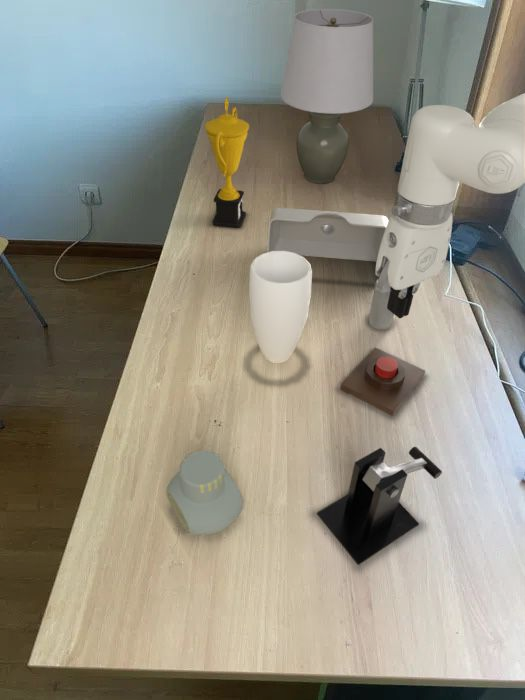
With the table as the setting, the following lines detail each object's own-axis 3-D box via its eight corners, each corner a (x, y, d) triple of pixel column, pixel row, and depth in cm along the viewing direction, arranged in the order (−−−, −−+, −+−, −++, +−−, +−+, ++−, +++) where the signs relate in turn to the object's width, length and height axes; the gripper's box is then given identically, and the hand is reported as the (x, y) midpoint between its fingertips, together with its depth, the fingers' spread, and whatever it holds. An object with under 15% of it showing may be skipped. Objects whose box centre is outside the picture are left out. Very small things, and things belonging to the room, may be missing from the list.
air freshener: (250, 524, 78) (250, 482, 72) (198, 554, 75) (193, 513, 68) (212, 469, 85) (209, 426, 78) (162, 494, 82) (155, 452, 75)
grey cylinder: (386, 335, 109) (395, 292, 102) (364, 327, 111) (372, 284, 104) (394, 322, 112) (403, 279, 105) (372, 315, 114) (381, 272, 107)
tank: (378, 249, 132) (387, 200, 124) (381, 289, 120) (391, 238, 112) (273, 241, 134) (274, 192, 126) (265, 279, 122) (266, 228, 114)
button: (381, 361, 98) (382, 353, 97) (399, 370, 97) (401, 362, 96) (371, 372, 96) (372, 365, 95) (390, 381, 95) (391, 374, 93)
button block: (373, 356, 105) (376, 339, 102) (422, 379, 100) (427, 363, 98) (339, 392, 98) (342, 376, 95) (391, 420, 93) (396, 403, 90)
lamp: (264, 186, 155) (267, 22, 128) (294, 154, 172) (302, 3, 145) (348, 203, 149) (369, 34, 122) (370, 168, 165) (394, 12, 138)
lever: (411, 455, 80) (419, 442, 79) (437, 480, 77) (445, 467, 76) (354, 471, 73) (362, 458, 72) (380, 500, 70) (389, 486, 69)
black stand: (374, 482, 84) (389, 426, 75) (417, 528, 78) (438, 474, 70) (315, 517, 79) (324, 462, 71) (357, 568, 74) (371, 516, 65)
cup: (256, 391, 97) (257, 290, 83) (241, 352, 105) (240, 253, 90) (312, 381, 100) (323, 280, 85) (294, 343, 107) (302, 245, 93)
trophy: (240, 244, 133) (239, 115, 113) (200, 240, 134) (192, 111, 114) (255, 206, 147) (256, 84, 127) (219, 202, 148) (214, 81, 128)
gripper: (401, 232, 70) (377, 342, 83) (482, 203, 76) (448, 309, 89) (362, 207, 75) (344, 314, 87) (441, 181, 81) (414, 285, 93)
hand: (397, 311), depth 88 cm, fingers closed
